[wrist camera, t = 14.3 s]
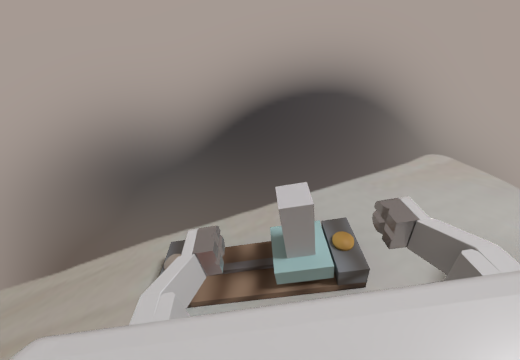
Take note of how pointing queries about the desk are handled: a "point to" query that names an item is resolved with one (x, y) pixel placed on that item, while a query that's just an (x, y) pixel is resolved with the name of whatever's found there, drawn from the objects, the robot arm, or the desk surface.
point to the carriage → (299, 238)
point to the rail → (262, 270)
